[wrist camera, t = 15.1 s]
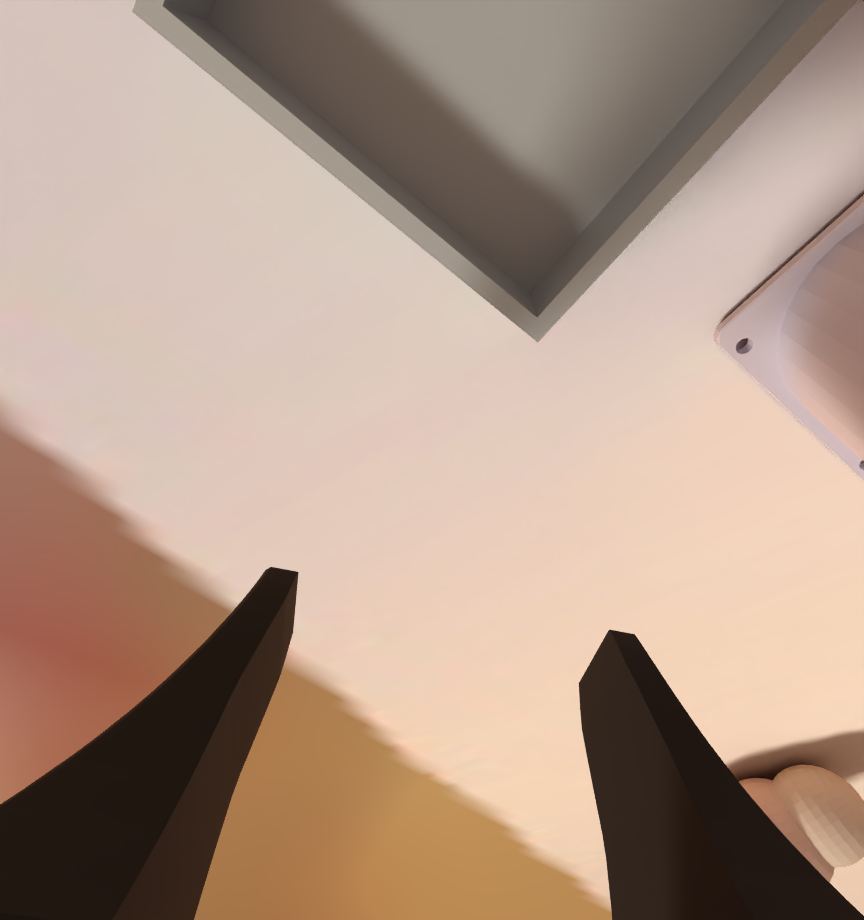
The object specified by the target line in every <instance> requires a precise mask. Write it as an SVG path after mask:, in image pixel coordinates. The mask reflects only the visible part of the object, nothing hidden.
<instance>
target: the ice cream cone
mask: <svg viewBox="0 0 864 920" xmlns="http://www.w3.org/2000/svg"><path fill="white" fill-rule="evenodd" d="M738 782H739V783H740V784H741V785H742V787H743V788H744V789H745V790H746V791H747V793H748V794H749V795H750V796H751V797H752V799H753V800H754V801H755V802H756V803H757V804H758V806H759V807H760V808H761V809H762V810H763V811H764V813H765V814H766V815H767V816H768V817H769V818H770V820H771V821H772V822H773V823H774V824H775V825H776V827H777V828H778V829H779V830H780V831H781V832H782V833H783V834H784V835H785V836H786V838H787V839H788V840H789V841H790V842H791V843H792V844H793V845H794V846H795V847H796V848H797V849H798V850H799V852H800V853H801V854H802V855H803V856H804V857H805V858H806V859H807V860H808V861H809V862H810V863H811V864H812V865H813V866H814V867H815V868H816V869H817V870H818V871H819V873H820V874H821V875H822V876H823V877H824V878H825V879H826V880H827V881H828V882H830V880H831V878H832V876H833V873H834V867H845V866H849V865H852V864H854V863H856V862H857V861H859V860H860V859H862V858H863V857H864V801H863V800H862V798H861V797H860V795H859V794H858V793H857V791H856V790H855V789H854V788H853V787H852V786H851V785H850V784H849V783H848V782H846V781H845V780H844V779H843V778H842V777H840V776H838V775H837V774H835V773H833V772H831V771H829V770H827V769H824V768H822V767H818V766H813V765H795V766H791V767H788V768H786V769H784V770H782V771H781V772H780V773H778V774H777V775H776V777H775V778H774V779H773V780H770V779H765V778H749V779H743V780H741V781H738Z"/></svg>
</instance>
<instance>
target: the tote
mask: <svg viewBox="0 0 864 920" xmlns="http://www.w3.org/2000/svg"><path fill="white" fill-rule="evenodd" d="M856 1H857V0H136V3H135V5H134V8H133V11H132V12H133V13H135V14H136V15H137V16H138V17H139V18H141V19H142V20H143V21H144V22H146V23H147V24H148V25H149V26H151V27H152V28H153V29H154V30H155V31H157V32H158V33H159V34H160V35H162V36H163V37H164V38H165V39H166V40H168V41H169V42H170V43H171V44H173V45H174V46H175V47H176V48H177V49H179V50H180V51H181V52H182V53H184V54H185V55H186V56H187V57H189V58H190V59H191V60H192V61H193V62H195V63H196V64H197V65H198V66H200V67H201V68H202V69H203V70H204V71H206V72H207V73H208V74H209V75H211V76H212V77H213V78H214V79H216V80H217V81H218V82H219V83H220V84H222V85H223V86H224V87H225V88H227V89H228V90H229V91H230V92H231V93H233V94H234V95H235V96H236V97H238V98H239V99H240V100H241V101H242V102H244V103H245V104H246V105H247V106H249V107H250V108H251V109H252V110H254V111H255V112H256V113H257V114H258V115H260V116H261V117H262V118H263V119H265V120H266V121H267V122H268V123H269V124H271V125H272V126H273V127H274V128H276V129H277V130H278V131H279V132H281V133H282V134H283V135H284V136H285V137H287V138H288V139H289V140H290V141H292V142H293V143H294V144H295V145H296V146H298V147H299V148H300V149H301V150H303V151H304V152H305V153H306V154H308V155H309V156H310V157H311V158H312V159H314V160H315V161H316V162H317V163H319V164H320V165H321V166H322V167H323V168H325V169H326V170H327V171H328V172H330V173H331V174H332V175H333V176H334V177H336V178H337V179H338V180H339V181H341V182H342V183H343V184H344V185H346V186H347V187H348V188H349V189H350V190H352V191H353V192H354V193H355V194H357V195H358V196H359V197H360V198H361V199H363V200H364V201H365V202H366V203H368V204H369V205H370V206H371V207H373V208H374V209H375V210H376V211H377V212H379V213H380V214H381V215H382V216H384V217H385V218H386V219H387V220H388V221H390V222H391V223H392V224H393V225H395V226H396V227H397V228H398V229H399V230H401V231H402V232H403V233H404V234H406V235H407V236H408V237H409V238H411V239H412V240H413V241H414V242H415V243H417V244H418V245H419V246H420V247H422V248H423V249H424V250H425V251H426V252H428V253H429V254H430V255H431V256H433V257H434V258H435V259H436V260H438V261H439V262H440V263H441V264H442V265H444V266H445V267H446V268H447V269H449V270H450V271H451V272H452V273H453V274H455V275H456V276H457V277H458V278H460V279H461V280H462V281H463V282H464V283H466V284H467V285H468V286H469V287H471V288H472V289H473V290H474V291H476V292H477V293H478V294H479V295H480V296H482V297H483V298H484V299H485V300H487V301H488V302H489V303H490V304H491V305H493V306H494V307H495V308H496V309H498V310H499V311H500V312H501V313H503V314H504V315H505V316H506V317H507V318H509V319H510V320H511V321H512V322H514V323H515V324H516V325H517V326H518V327H520V328H521V329H522V330H523V331H525V332H526V333H527V334H528V335H529V336H531V337H532V338H533V339H534V340H536V341H537V342H538V341H539V340H540V339H541V338H542V337H543V336H544V335H545V334H546V333H547V332H548V331H549V330H550V329H551V328H552V326H553V325H554V324H555V323H556V322H557V321H558V320H559V319H560V318H561V317H562V316H563V315H564V314H565V313H566V311H567V310H568V309H569V308H570V307H571V306H572V305H573V304H574V303H575V302H576V301H577V300H578V299H579V298H580V296H581V295H582V294H583V293H584V292H585V291H586V290H587V289H588V288H589V287H590V286H591V285H592V284H593V283H594V281H595V280H596V279H597V278H598V277H599V276H600V275H601V274H602V273H603V272H604V271H605V270H606V269H607V268H608V266H609V265H610V264H611V263H612V262H613V261H614V260H615V259H616V258H617V257H618V256H619V255H620V254H621V253H622V251H623V250H624V249H625V248H626V247H627V246H628V245H629V244H630V243H631V242H632V241H633V240H634V239H635V238H636V236H637V235H638V234H639V233H640V232H641V231H642V230H643V229H644V228H645V227H646V226H647V225H648V224H649V223H650V221H651V220H652V219H653V218H654V217H655V216H656V215H657V214H658V213H659V212H660V211H661V210H662V209H663V208H664V206H665V205H666V204H667V203H668V202H669V201H670V200H671V199H672V198H673V197H674V196H675V195H676V194H677V193H678V192H679V190H680V189H681V188H682V187H683V186H684V185H685V184H686V183H687V182H688V181H689V180H690V179H691V178H692V177H693V175H694V174H695V173H696V172H697V171H698V170H699V169H700V168H701V167H702V166H703V165H704V164H705V163H706V162H707V160H708V159H709V158H710V157H711V156H712V155H713V154H714V153H715V152H716V151H717V150H718V149H719V148H720V147H721V145H722V144H723V143H724V142H725V141H726V140H727V139H728V138H729V137H730V136H731V135H732V134H733V133H734V132H735V130H736V129H737V128H738V127H739V126H740V125H741V124H742V123H743V122H744V121H745V120H746V119H747V118H748V117H749V115H750V114H751V113H752V112H753V111H754V110H755V109H756V108H757V107H758V106H759V105H760V104H761V103H762V102H763V100H764V99H765V98H766V97H767V96H768V95H769V94H770V93H771V92H772V91H773V90H774V89H775V88H776V87H777V85H778V84H779V83H780V82H781V81H782V80H783V79H784V78H785V77H786V76H787V75H788V74H789V73H790V72H791V70H792V69H793V68H794V67H795V66H796V65H797V64H798V63H799V62H800V61H801V60H802V59H803V58H804V57H805V55H806V54H807V53H808V52H809V51H810V50H811V49H812V48H813V47H814V46H815V45H816V44H817V43H818V42H819V40H820V39H821V38H822V37H823V36H824V35H825V34H826V33H827V32H828V31H829V30H830V29H831V28H832V27H833V25H834V24H835V23H836V22H837V21H838V20H839V19H840V18H841V17H842V16H843V15H844V14H845V13H846V12H847V10H848V9H849V8H850V7H851V6H852V5H853V4H854V3H855V2H856Z"/></svg>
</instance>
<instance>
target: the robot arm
mask: <svg viewBox="0 0 864 920" xmlns="http://www.w3.org/2000/svg"><path fill="white" fill-rule="evenodd" d="M745 338H748V342H747V344H746V345H745V347H743V348H741V349H736V345H737V343H738V342H739V341H740V340H742V339H745ZM714 340H715V342H716V344H717V345H718V346H719V347H720V348H721V349H722V350H723V351H724V352H725V353H727V354H728V355H729V356H730V357H731V358H732V359H733V360H734V361H735V362H736V363H737V364H738V365H739V366H740V367H742V368H743V369H744V370H745V371H746V372H747V373H748V374H749V375H750V376H751V377H752V378H753V379H754V380H756V381H757V382H758V383H759V384H760V385H761V386H762V387H763V388H764V389H765V390H766V391H767V392H768V393H769V394H771V395H772V396H773V397H774V398H775V399H776V400H777V401H778V402H779V403H780V404H781V405H782V406H783V407H784V408H786V409H787V410H788V411H789V412H790V413H791V414H792V415H793V416H794V417H795V418H796V419H797V420H798V421H799V422H801V423H802V424H803V425H804V426H805V427H806V428H807V429H808V430H809V431H810V432H811V433H812V434H813V435H814V436H816V437H817V438H818V439H819V440H820V441H821V442H822V443H823V444H824V445H825V446H826V447H827V448H828V449H829V450H831V451H832V452H833V453H834V454H835V455H836V456H837V457H838V458H839V459H840V460H841V461H842V462H843V463H844V464H846V465H847V466H848V467H849V468H850V469H851V470H852V471H853V472H854V473H855V474H856V475H857V476H858V477H859V478H861V479H862V480H863V481H864V462H863V463H861V464H860V462H861V461H862V460H863V461H864V195H863V196H862V197H861V198H859V199H858V200H857V201H856V202H855V203H854V204H853V205H852V206H851V207H849V208H848V209H847V210H846V211H845V212H844V213H843V214H842V215H841V216H839V217H838V218H837V219H836V220H835V221H834V222H833V223H832V224H830V225H829V226H828V227H827V228H826V229H825V230H824V231H823V232H822V233H820V234H819V235H818V236H817V237H816V238H815V239H814V240H813V241H812V242H810V243H809V244H808V245H807V246H806V247H805V248H804V249H803V250H802V251H800V252H799V253H798V254H797V255H796V256H795V257H794V258H793V259H792V260H790V261H789V262H788V263H787V264H786V265H785V266H784V267H783V268H782V269H780V270H779V271H778V272H777V273H776V274H775V275H774V276H773V277H771V278H770V279H769V280H768V281H767V282H766V283H765V284H764V285H763V286H761V287H760V288H759V289H758V290H757V291H756V292H755V293H754V294H753V295H751V296H750V297H749V298H748V299H747V300H746V301H745V302H744V303H743V304H741V305H740V306H739V307H738V308H737V309H736V310H735V311H734V312H733V313H731V314H730V315H729V316H728V317H727V318H726V319H725V320H724V321H722V322H721V323H720V324H719V326H718V327H717V328H716V330H715V333H714ZM297 582H298V572H296V571H290V570H285V569H279V568H274V567H270V568H268V569H267V570H265V572H264V573H263V575H262V576H261V577H260V579H259V580H258V581H257V583H256V584H255V585H254V587H253V588H252V589H251V590H250V592H249V593H248V594H247V595H246V597H245V598H244V599H243V600H242V601H241V602H240V604H239V605H238V606H237V607H236V608H235V609H234V611H233V612H232V613H231V614H230V615H229V616H228V617H227V618H226V620H225V621H224V622H223V623H222V624H221V625H220V626H219V627H218V628H217V629H216V630H215V631H214V633H213V634H212V635H211V636H210V637H209V638H208V639H207V640H206V641H205V642H204V643H203V644H202V645H201V646H200V647H199V648H198V649H197V650H196V651H195V652H194V653H193V654H192V655H191V656H190V657H189V658H188V659H187V660H186V661H185V662H184V663H183V664H182V665H181V666H180V667H179V668H178V669H177V670H176V671H175V672H174V673H172V674H171V675H170V676H169V677H168V678H167V679H166V680H165V681H164V682H163V683H162V684H160V685H159V686H158V687H157V688H156V689H155V690H154V691H153V692H151V694H149V695H148V696H147V697H146V698H145V699H143V700H142V701H141V702H140V703H139V704H137V705H136V706H135V707H134V708H133V709H131V710H130V711H129V712H128V713H127V714H125V715H124V716H123V717H122V718H120V719H119V720H118V721H117V722H115V723H114V724H113V725H111V726H110V727H109V728H108V729H106V730H105V731H104V732H103V733H101V734H100V735H99V736H98V737H96V738H95V739H94V740H92V741H91V742H90V743H88V744H87V745H86V746H84V747H83V748H82V749H80V750H79V751H78V752H76V753H75V754H74V755H72V756H71V757H69V758H68V759H66V760H65V761H64V762H62V763H61V764H60V765H58V766H56V767H55V768H53V769H52V770H51V771H49V772H48V773H46V774H45V775H44V776H42V777H41V778H39V779H38V780H36V781H35V782H33V783H32V784H30V785H29V786H28V787H26V788H25V789H23V790H22V791H20V792H19V793H17V794H16V795H14V796H13V797H11V798H10V799H8V800H7V801H5V802H3V803H2V804H0V920H194V917H195V914H196V911H197V907H198V904H199V900H200V897H201V894H202V891H203V887H204V884H205V881H206V878H207V874H208V871H209V868H210V864H211V861H212V858H213V855H214V851H215V848H216V845H217V842H218V838H219V835H220V832H221V829H222V826H223V823H224V820H225V816H226V813H227V810H228V807H229V803H230V801H231V797H232V794H233V792H234V789H235V786H236V784H237V781H238V778H239V776H240V773H241V771H242V768H243V766H244V763H245V761H246V758H247V756H248V753H249V751H250V749H251V746H252V744H253V741H254V739H255V736H256V734H257V732H258V729H259V727H260V724H261V722H262V719H263V717H264V714H265V712H266V710H267V707H268V705H269V702H270V700H271V697H272V695H273V692H274V690H275V687H276V685H277V682H278V680H279V677H280V674H281V671H282V668H283V665H284V661H285V658H286V654H287V651H288V648H289V644H290V641H291V637H292V634H293V626H294V615H295V604H296V593H297ZM579 694H580V710H581V722H582V731H583V737H584V742H585V747H586V753H587V758H588V763H589V768H590V773H591V779H592V784H593V789H594V794H595V799H596V804H597V809H598V814H599V819H600V824H601V829H602V834H603V841H604V847H605V853H606V861H607V870H608V880H609V889H610V899H611V909H612V920H864V916H863V915H862V914H861V913H860V912H859V911H858V910H857V909H856V908H855V907H854V906H853V905H851V904H850V903H849V902H848V901H847V900H846V899H845V898H844V897H843V896H842V895H841V894H840V893H839V892H838V891H837V890H836V889H835V888H834V887H833V886H832V885H831V884H830V883H829V882H828V881H827V880H826V879H825V878H824V877H823V876H822V875H821V874H820V873H819V871H818V870H817V869H816V868H815V867H814V866H813V865H812V864H811V863H810V862H809V861H808V860H807V859H806V858H805V857H804V856H803V855H802V854H801V853H800V852H799V850H798V849H797V848H796V847H795V846H794V845H793V844H792V843H791V842H790V841H789V840H788V839H787V838H786V836H785V835H784V834H783V833H782V832H781V831H780V830H779V829H778V828H777V827H776V825H775V824H774V823H773V822H772V821H771V820H770V818H769V817H768V816H767V815H766V814H765V813H764V811H763V810H762V809H761V808H760V807H759V806H758V804H757V803H756V802H755V801H754V800H753V799H752V797H751V796H750V795H749V794H748V793H747V791H746V790H745V789H744V788H743V787H742V785H741V784H740V783H739V782H738V780H737V779H736V778H735V777H734V775H733V774H732V773H731V771H730V770H729V769H728V768H727V766H726V765H725V764H724V762H723V761H722V760H721V758H720V757H719V756H718V755H717V753H716V752H715V751H714V749H713V748H712V747H711V745H710V744H709V743H708V741H707V740H706V738H705V737H704V736H703V734H702V733H701V732H700V730H699V729H698V727H697V726H696V725H695V723H694V722H693V720H692V719H691V718H690V716H689V715H688V713H687V712H686V710H685V709H684V707H683V706H682V705H681V703H680V702H679V700H678V699H677V697H676V696H675V694H674V693H673V691H672V690H671V688H670V687H669V685H668V684H667V682H666V681H665V679H664V678H663V676H662V675H661V673H660V672H659V670H658V669H657V667H656V666H655V664H654V663H653V661H652V660H651V658H650V657H649V655H648V653H647V652H646V650H645V649H644V647H643V646H642V644H641V643H640V641H639V640H638V639H637V637H636V636H635V634H630V633H625V632H619V631H614V630H609V631H608V633H607V634H606V636H605V638H604V640H603V642H602V643H601V645H600V647H599V649H598V650H597V652H596V654H595V656H594V658H593V659H592V661H591V663H590V665H589V666H588V668H587V670H586V672H585V673H584V675H583V677H582V679H581V681H580V682H579Z"/></svg>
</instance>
